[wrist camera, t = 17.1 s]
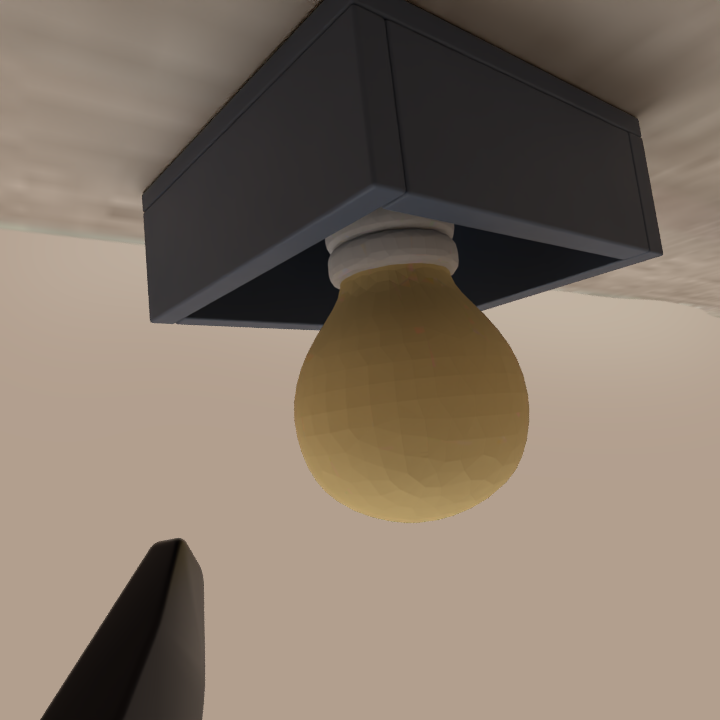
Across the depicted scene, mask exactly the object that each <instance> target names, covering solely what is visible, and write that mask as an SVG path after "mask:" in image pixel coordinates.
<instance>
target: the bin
mask: <svg viewBox="0 0 720 720" xmlns="http://www.w3.org/2000/svg"><path fill="white" fill-rule="evenodd" d="M640 137H641V132H640V126H639V121H638V119H637V118H635V117H633V116H631V115H629V114H627V113H625V112H623V111H621V110H619V109H617V108H615V107H613V106H611V105H609V104H607V103H605V102H603V101H601V100H599V99H597V98H595V97H594V96H592V95H590V94H588V93H586V92H584V91H582V90H580V89H578V88H576V87H574V86H572V85H570V84H568V83H566V82H564V81H562V80H560V79H558V78H556V77H554V76H552V75H550V74H548V73H546V72H544V71H542V70H540V69H538V68H536V67H534V66H532V65H531V64H529V63H527V62H525V61H523V60H521V59H519V58H517V57H515V56H513V55H511V54H509V53H507V52H505V51H503V50H501V49H499V48H497V47H495V46H493V45H491V44H489V43H487V42H485V41H483V40H481V39H479V38H477V37H475V36H473V35H471V34H469V33H467V32H466V31H464V30H462V29H460V28H458V27H456V26H454V25H452V24H450V23H448V22H446V21H444V20H442V19H440V18H438V17H436V16H434V15H432V14H430V13H428V12H426V11H424V10H422V9H420V8H418V7H416V6H414V5H412V4H410V3H408V2H406V1H404V0H324V1H323V2H322V3H321V4H320V5H319V6H318V7H317V8H316V9H315V10H314V11H313V12H312V14H311V15H310V16H309V17H308V18H307V19H306V20H305V21H304V22H303V23H302V24H301V25H300V26H299V27H298V29H297V30H296V31H295V32H294V33H293V34H292V35H291V36H290V37H289V38H288V39H287V40H286V41H285V42H284V44H283V45H282V46H281V47H280V48H279V49H278V50H277V51H276V52H275V53H274V54H273V55H272V56H271V57H270V59H269V60H268V61H267V62H266V63H265V64H264V65H263V66H262V67H261V68H260V69H259V70H258V71H257V72H256V74H255V75H254V76H253V77H252V78H251V79H250V80H249V81H248V82H247V83H246V84H245V85H244V86H243V87H242V89H241V90H240V91H239V92H238V93H237V94H236V95H235V96H234V97H233V98H232V99H231V100H230V101H229V102H228V104H227V105H226V106H225V107H224V108H223V109H222V110H221V111H220V112H219V113H218V114H217V115H216V116H215V117H214V119H213V120H212V121H211V122H210V123H209V124H208V125H207V126H206V127H205V128H204V129H203V130H202V131H201V132H200V133H199V135H198V136H197V137H196V138H195V139H194V140H193V141H192V142H191V143H190V144H189V145H188V146H187V147H186V148H185V150H184V151H183V152H182V153H181V154H180V155H179V156H178V157H177V158H176V159H175V160H174V161H173V162H172V163H171V165H170V166H169V167H168V168H167V169H166V170H165V171H164V172H163V173H162V174H161V175H160V176H159V177H158V178H157V180H156V181H155V182H154V183H153V184H152V185H151V186H150V187H149V188H148V189H147V190H146V191H145V192H144V193H143V195H142V203H143V212H145V213H144V231H145V247H146V263H147V280H148V295H149V309H150V310H149V311H150V321H151V322H152V323H166V324H174V323H176V324H184V325H185V324H186V325H208V326H231V327H233V326H234V327H254V328H278V329H301V330H321V328H322V326H323V325H324V323H325V322H326V320H327V318H328V317H329V315H330V313H331V312H332V310H333V308H334V306H335V304H336V302H337V299H338V295H339V291H340V289H338V288H336V287H334V285H333V284H332V283H331V281H330V278H329V272H328V260H329V257H330V253H329V252H328V250H327V247H326V243H325V238H327V237H329V236H330V235H332V234H334V233H336V232H338V231H339V230H341V229H343V228H345V227H346V226H348V225H350V224H352V223H354V222H355V221H357V220H359V219H361V218H362V217H364V216H366V215H368V214H370V213H371V212H373V211H375V210H377V209H378V208H380V207H382V208H383V209H386V210H390V211H395V212H400V213H405V214H409V215H414V216H419V217H424V218H428V219H433V220H438V221H442V222H447V223H452V224H454V234H453V238H452V240H453V241H454V242H455V244H456V247H457V251H458V259H459V262H458V267H457V269H456V271H455V272H454V274H453V275H451V277H452V279H453V281H454V283H455V284H456V286H457V287H458V288H459V289H460V291H461V292H462V293H463V294H464V295H465V296H466V297H467V298H468V299H469V300H470V301H471V302H472V303H473V304H474V305H475V306H476V307H477V308H478V309H479V310H480V311H483V310H486V309H489V308H492V307H496V306H499V305H502V304H506V303H509V302H512V301H515V300H519V299H522V298H525V297H528V296H532V295H535V294H538V293H541V292H545V291H548V290H551V289H555V288H558V287H561V286H564V285H568V284H571V283H574V282H577V281H581V280H584V279H587V278H590V277H594V276H597V275H600V274H603V273H607V272H610V271H613V270H616V269H620V268H623V267H626V266H629V265H633V264H636V263H639V262H642V261H646V260H649V259H652V258H655V257H659V256H662V255H663V250H662V245H661V239H660V234H659V228H658V223H657V217H656V212H655V206H654V201H653V196H652V190H651V185H650V179H649V174H648V168H647V163H646V157H645V152H644V147H643V141H642V138H640Z"/></svg>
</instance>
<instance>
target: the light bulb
mask: <svg viewBox="0 0 720 720" xmlns="http://www.w3.org/2000/svg"><path fill="white" fill-rule="evenodd" d="M453 234H454V224H452V223H447V222H442V221H438V220H433V219H428V218H424V217H419V216H414V215H409V214H405V213H400V212H395V211H390V210H386V209H383V208H382V207H380V208H378V209H377V210H375V211H373V212H371V213H370V214H368V215H366V216H364V217H362V218H361V219H359V220H357V221H355V222H354V223H352V224H350V225H348V226H346V227H345V228H343V229H341V230H339V231H338V232H336V233H334V234H332V235H330V236H329V237H327V238H325V243H326V247H327V250H328V252H329V253H330V257H329V260H328V272H329V278H330V281H331V283H332V284H333V285H334V287H336V288H338V289H340V291H339V295H338V299H337V302H336V304H335V306H334V308H333V310H332V312H331V313H330V315H329V317H328V318H327V320H326V322H325V323H324V325H323V326H322V328H321V330H320V331H319V333H318V335H317V337H316V338H315V340H314V342H313V344H312V346H311V348H310V350H309V352H308V354H307V356H306V358H305V361H304V363H303V366H302V368H301V371H300V375H299V379H298V382H297V387H296V394H295V401H294V411H295V412H294V416H295V426H296V432H297V437H298V441H299V445H300V448H301V452H302V454H303V457H304V459H305V461H306V463H307V466H308V468H309V470H310V471H311V473H312V475H313V476H314V478H315V480H316V481H317V482H318V483H319V485H320V486H321V487H322V488H323V489H324V490H325V492H327V493H328V494H329V495H330V496H332V497H333V498H334V499H335V500H337V501H338V502H340V503H342V504H343V505H345V506H347V507H349V508H350V509H352V510H354V511H357V512H359V513H362V514H365V515H368V516H370V517H374V518H378V519H383V520H387V521H393V522H403V523H420V522H426V521H433V520H439V519H443V518H447V517H450V516H454V515H456V514H459V513H461V512H463V511H466V510H468V509H470V508H472V507H474V506H476V505H477V504H479V503H480V502H482V501H484V500H486V499H487V498H489V497H490V496H491V495H492V494H493V493H494V492H496V491H497V490H498V489H499V488H500V487H501V486H502V485H503V484H505V483H506V482H507V480H508V479H509V478H510V477H511V475H512V474H513V473H514V472H515V470H516V468H517V466H518V464H519V462H520V460H521V458H522V455H523V452H524V447H525V444H526V441H527V433H528V426H529V402H528V393H527V389H526V385H525V381H524V377H523V373H522V371H521V369H520V366H519V363H518V361H517V359H516V357H515V355H514V353H513V351H512V349H511V347H510V346H509V344H508V343H507V341H506V340H505V339H504V337H503V336H502V334H501V333H500V332H499V330H498V329H497V328H496V327H495V326H494V325H493V324H492V323H491V321H490V320H489V319H488V318H487V317H486V316H485V315H484V314H483V313H482V312H481V311H480V310H479V309H478V308H477V307H476V306H475V305H474V304H473V303H472V302H471V301H470V300H469V299H468V298H467V297H466V296H465V295H464V294H463V293H462V292H461V291H460V289H459V288H458V287H457V286H456V284H455V283H454V281H453V279H452V277H451V275H453V274H454V272H455V271H456V269H457V267H458V262H459V259H458V251H457V247H456V244H455V242H454V241H453V240H452V238H453Z"/></svg>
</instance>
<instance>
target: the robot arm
mask: <svg viewBox="0 0 720 720" xmlns="http://www.w3.org/2000/svg"><path fill="white" fill-rule="evenodd" d="M204 691H205V636H204V581H203V574H202V570H201V568H200V565H199V564H198V562H197V560H196V559H195V557H194V555H193V553H192V552H191V550H190V548H189V547H188V545H187V543H186V542H185V541H184V540H183V539H181V538H176V539H170V540H165V541H159V542H157V543H155V544H154V545H153V546H152V547H151V548H150V549H149V551H148V553H147V554H146V556H145V558H144V559H143V560H142V562H141V563H140V565H139V567H138V568H137V570H136V571H135V573H134V574H133V576H132V577H131V579H130V581H129V582H128V584H127V585H126V587H125V588H124V590H123V591H122V593H121V595H120V596H119V598H118V599H117V601H116V602H115V604H114V605H113V607H112V609H111V610H110V612H109V613H108V615H107V616H106V618H105V620H104V621H103V623H102V624H101V626H100V627H99V629H98V631H97V632H96V634H95V635H94V637H93V639H92V640H91V641H90V643H89V645H88V646H87V648H86V649H85V651H84V652H83V654H82V655H81V657H80V658H79V660H78V662H77V663H76V665H75V666H74V668H73V669H72V671H71V673H70V674H69V676H68V677H67V679H66V680H65V682H64V683H63V685H62V687H61V688H60V690H59V691H58V693H57V694H56V696H55V697H54V699H53V701H52V702H51V704H50V705H49V707H48V708H47V710H46V712H45V713H44V715H43V716H42V718H41V719H40V720H202V714H203V705H204Z"/></svg>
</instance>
